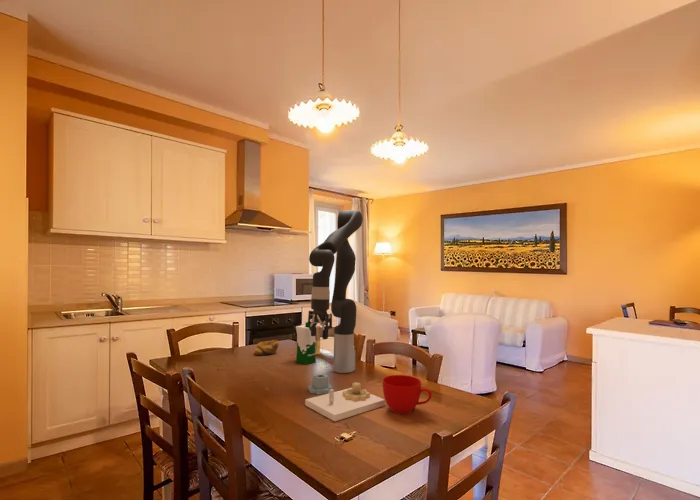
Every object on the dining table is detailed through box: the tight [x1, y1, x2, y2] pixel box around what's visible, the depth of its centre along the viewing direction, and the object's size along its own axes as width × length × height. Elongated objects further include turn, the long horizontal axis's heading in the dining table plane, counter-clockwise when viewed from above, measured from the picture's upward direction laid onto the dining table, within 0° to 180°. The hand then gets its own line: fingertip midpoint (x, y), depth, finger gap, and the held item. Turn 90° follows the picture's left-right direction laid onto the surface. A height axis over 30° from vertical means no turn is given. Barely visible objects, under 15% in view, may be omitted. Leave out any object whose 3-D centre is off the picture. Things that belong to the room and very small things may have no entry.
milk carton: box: [295, 321, 317, 365], centre depth 187 cm, size 9×9×20 cm
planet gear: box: [307, 373, 334, 396], centre depth 145 cm, size 10×10×6 cm
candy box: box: [315, 324, 321, 355], centre depth 205 cm, size 9×4×15 cm, turn 110°
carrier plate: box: [304, 381, 386, 422], centre depth 130 cm, size 22×17×7 cm
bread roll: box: [254, 339, 279, 356], centre depth 204 cm, size 13×10×8 cm
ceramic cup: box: [382, 374, 433, 415], centre depth 125 cm, size 13×17×10 cm
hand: (319, 337), depth 153 cm, fingers open, 8 cm apart
